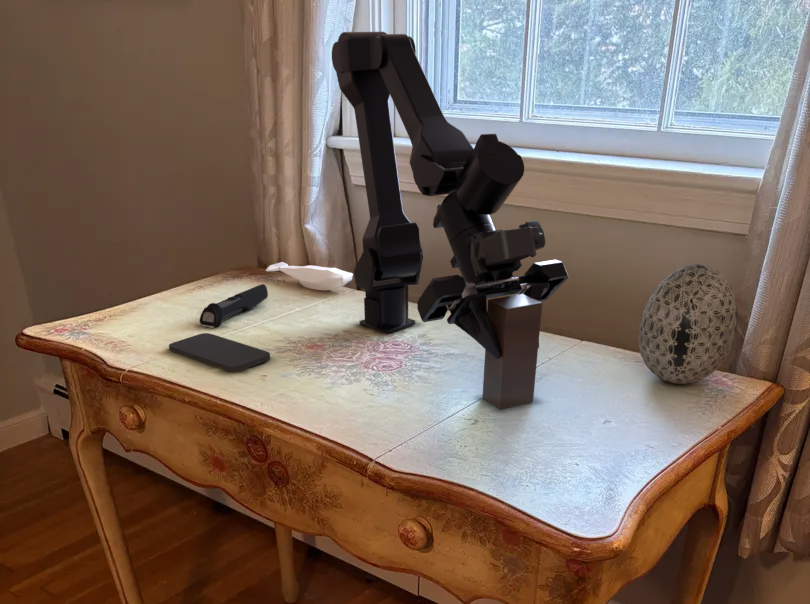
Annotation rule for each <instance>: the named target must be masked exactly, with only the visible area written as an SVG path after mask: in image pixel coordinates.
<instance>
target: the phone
mask: <svg viewBox="0 0 810 604" xmlns="http://www.w3.org/2000/svg"><path fill="white" fill-rule="evenodd" d="M168 347H169V351H170V352H173V353H175V354H179V355H180V356H184V357H187V358H190V359H192V360H195V361H199V362H201V363H204V364H206V365H210V366H213V367H216V368H219V369H221V370H224V371H228V372H235V373H236V372H240V371H243V370H245V369H248V368H251V367H253V366H256V365H258V364H261V363H263V362H267V361H269V360H270V359H271V353H270V352H269V351H267V350H264V349H261V348H258V347H255V346H251V345H248V344H245V343H242V342H239V341H236V340H232V339H229V338H226V337H223V336H219V335H216V334H213V333H209V332H202V333H198V334H196V335H193V336H189V337H187V338H183V339H180V340H177V341H174V342H171V343H169V344H168Z"/></svg>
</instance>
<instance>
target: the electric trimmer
mask: <svg viewBox="0 0 810 604" xmlns="http://www.w3.org/2000/svg"><path fill="white" fill-rule="evenodd" d="M267 288H268V287H267V286H266V284H265V283H261V284H259V285H257V286H254V287H252V288H249V289H246V290H244V291H241V292H239V293H235V294H234V295H232V296H230V297H227V298H225V299H224V300H222V301H219V302H217V303H216V302H211V303H208V305H207V306H206V307H204V308H203V310H202V311H201V313H200V316H199V324H200V325H201V326H202V327H206V328H207V327H208V328H211V329H215V328H219V327H220V326H221V325H222V322H223V321H226V320H227V319H229V318H231V317H233V316H235V315H237V314H239V313H241V312H244V313H245V312H249V311H250V310H252V309H253V308H255V307H257V306H258V305H259V304H260V303H262V302H264V301H265V300H266V299H267V298H268V296H269V293H268V289H267Z"/></svg>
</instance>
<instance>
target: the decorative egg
mask: <svg viewBox="0 0 810 604" xmlns="http://www.w3.org/2000/svg"><path fill="white" fill-rule="evenodd" d="M737 304H738V303H737V299H736V296H735V293H734V290H733V288H732V286H731V284H730V283H729V280H728V279H726V277H725V276H724V275H723V274H722V273H721V272H720V271H719V270H717V269H716V268H714V267H712V266H709V265H707V264H700V263H694V264H693V263H692V264H688V265H686V266H682V267H680V268H678V269H676V270H674V271H673V272H671V273H670V274H668V275H667V276H666V277H665V278H663V280H661V281H660V283H659V284H657V286H656V287H655V288H654V289H653V291H652V293H651V294H650V296H649V297H648V300H647V301H646V304H645V306H644V308H643V311H642V315H641V318H640V322H639V326H638V335H637V336H638V337H637V338H638V347H639V353H640V355H641V358H642V361H643V363H644V365H645V367H647V369H649V371H650V372H651V373H652V374H653V375H654V376H656V377H657V378H659V379H661V380H662V381H665V382H666V383H670V384H671V383H672V384H677V385H687V384H693V383H696V382H699V381H701V380H704V379H705V378H707V377H709V376H710V375H712V374H713V373H714V372H715V371H716V370H718V369H719V368H720V367H721V366H722V364H724V362H725V360H727V358H728V356H729V354H730V352H731V350H732V348H733V345H734V342H735V339H736V335H737V329H738V305H737Z"/></svg>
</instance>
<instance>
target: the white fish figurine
mask: <svg viewBox="0 0 810 604" xmlns="http://www.w3.org/2000/svg"><path fill="white" fill-rule="evenodd" d="M265 272H281V273H284V274H286V275H288V276H289V277H290V278H292V279H294V280H296V281H297V282H299V284H300V285H301V286H303V288H306V289H310V290H316V291H332V290H336V289H339V288H342V287H344V286H346V285H347V284H348V283H350V282H351V281H352V280H353V276H354V273H352V272H349V271H346V270H342V269H340V268H337V267H326V266H319V265H311V264H308V265H304V266H303V265H302V266H299V265H289V264H288V263H286V262H284V261H280V262H277V263H274V264H273V263H272V264H270V265H268V267H267V268H266V269H265Z"/></svg>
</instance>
